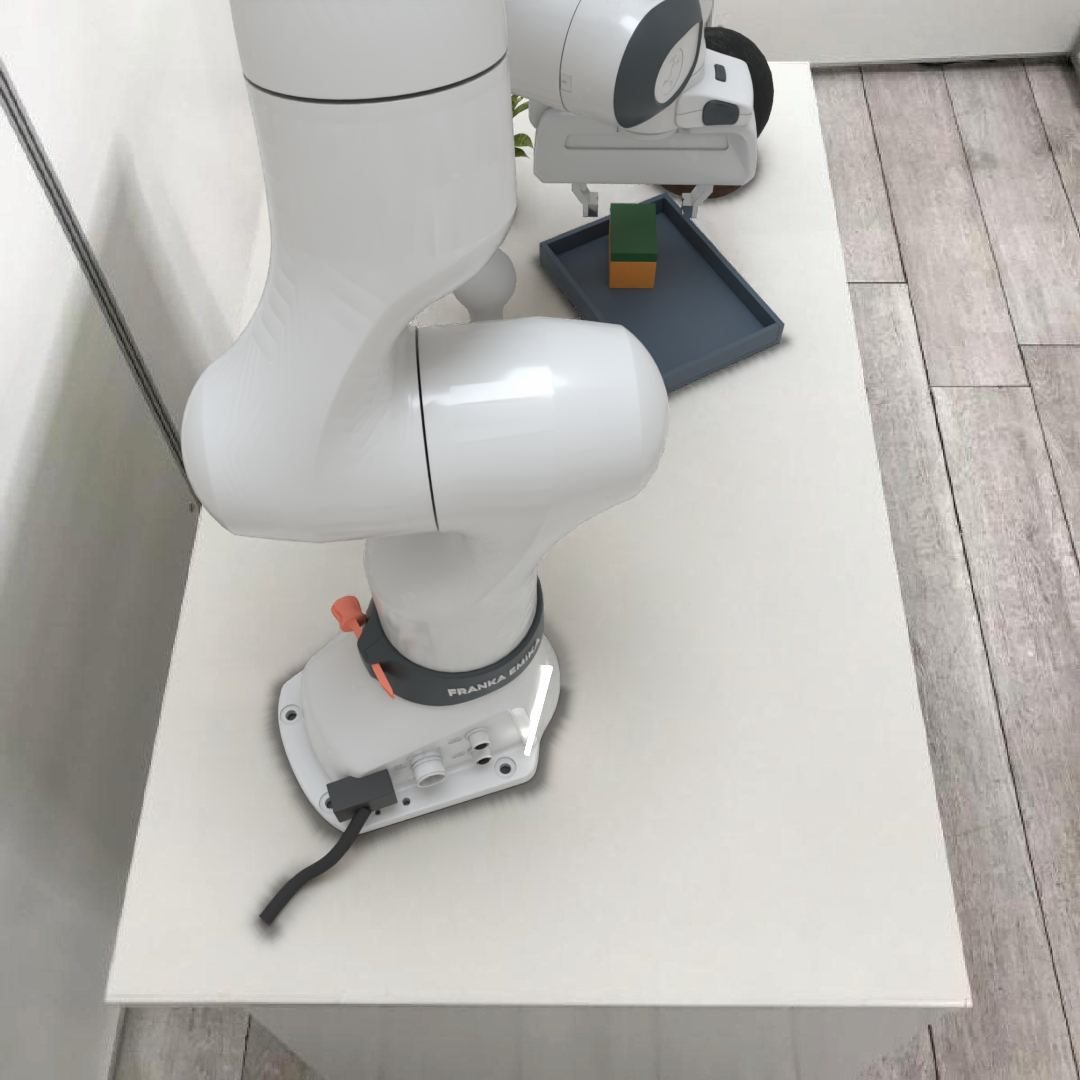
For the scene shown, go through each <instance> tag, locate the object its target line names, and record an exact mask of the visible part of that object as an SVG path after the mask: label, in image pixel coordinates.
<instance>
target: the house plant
mask: <svg viewBox="0 0 1080 1080" xmlns="http://www.w3.org/2000/svg"><path fill="white" fill-rule="evenodd" d="M511 99H512V114H513V119H514V118H515V117H516V116H517V115H519V114H520V113H522V112H524V111H525V110H526V111H527V110H528V103H529V100H527V101H525V102H523V103H521V104H519V103H520V102H521V101H523V99H524V98H523V97H520V96H517V95H514V94H511ZM518 104H519V105H518ZM517 105H518V106H517ZM533 144H534V143H533V141H532V138H531V137H530V136H529V135H528V134H527V133H524V132H523V133H521V132H519V133H517V134H514V146H515V158H520V157H522V158H528V159H529V160H531V158H530V157H529V156H528V155H527V153H526V152H525V150H524V149H522V148H521V147H529V148H531V149H532V150H533V151H534V145H533Z"/></svg>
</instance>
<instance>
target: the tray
mask: <svg viewBox="0 0 1080 1080" xmlns="http://www.w3.org/2000/svg"><path fill="white" fill-rule="evenodd" d="M639 203H655V206H656V229H657V251H658V254H657V263H656V272H655V281H654V288H609V240H608V239H609V221H610V214H608V215H605V216H603V217H600V218H598V219H594V220H593V221H590V222H587V223H585V224H582V225H580V226H578V227H575V228H573V229H570V230H568V231H565V232H563V233H560V234H558V235H555V236H552V237H550V238H547V239H545V240H543V241H540V242H539V243H538V245H539V248H538V249H539V252H538V253H539V263H540V265H542V267H543V268H544V269H545V271H546V272H547V273H548V274H549V277H551V278H552V280H553V281H554V282H555V284H556V285H557V287H558V288H559V289H560V290H561V291H562V293H563V294H564V295H565V297H566V298H567V299H568V300H569V302H570V303H571V304H572V306H573V307H574V308H575V310H576V311H577V312H578V314H579V315H580V316H581V317H582V320H586V321H594V322H602V323H610V324H618V325H622V326H624V327H625V328H626V329H627V330H629V331H630V332H631V333H632V334H633V335H634V336H635V337H636V338H637V339H638V340H639V341H640V342H641V343H642V344H643V345H644V347H645V348H646V349H647V350H648V352H649V353H650V355H651V356H652V358H653V360H654V361H655V363H656V365H657V367H658V369H659V371H660V373H661V376H662V378H663V381H664V385H665V388H666V392H667V394H669V393H671V392H673V391H675V390H677V389H680V388H682V387H684V386H686V385H689V384H691V383H693V382H696V381H697V380H700V379H702V378H704V377H706V376H708V375H711V374H713V373H715V372H718V371H719V370H722V369H723V368H726V367H728V366H730V365H733V364H735V363H737V362H739V361H741V360H744V359H746V358H749V357H751V356H752V355H755V354H758V353H759V352H761V351H764V350H765V349H768V348H770V347H772V346H775V345H778V344H779V343H780V342H781V339H782V336H783V332H784V328H785V322H783V320H781V318H780V317H779V316H778V315H777V314H776V313H775V312H774V310H773V309H772V308H771V306H769V305H768V303H766V301H765V300H764V299H763V298H762V297H761V296H760V294H759V293H757V291H756V290H755V289H754V288H753V287H752V286H751V284H749V283H748V281H747V280H746V279H745V278H744V277H743V276H742V275H741V273H740V272H739V271H738V270H737V269H736V268H735V266H734V265H733V264H731V262H730V261H729V260H728V259H727V258H726V256H725V255H723V253H722V252H721V251H720V250H719V249H718V248H717V246H716V245H714V244H713V242H712V241H711V240H710V239H709V238H708V237H707V235H705V234H704V232H703V231H702V230H701V228H700V227H698V226H697V225H696V223H695V222H694V221H693V220H692V218H681V206H679V204H677V202H676V201H675V200H674V199H673V197H672V196H671V195H669V193H668V192H667V191H665V192H662V193H660V194H657V195H654V196H653V197H650V198H647V199H645V200H642V201H640V202H639Z"/></svg>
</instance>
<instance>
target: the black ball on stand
mask: <svg viewBox="0 0 1080 1080" xmlns="http://www.w3.org/2000/svg"><path fill="white" fill-rule="evenodd" d="M704 38H705V44H706V48H707V49H710V50H712V51H715V52H718V53H721V54H724V55H728V56H731V57H734V58H737V59H740V60H742V61H744V62H745V63H746V64H747V66H748V69H749V72H750V76H751V80H752V85H753V108H754V115H755V121H756V131H757V139H759V138H760V136H761V135H762V133H763V131H764V129H765V128H766V125H767V124H768V122H769V120H770V116H771V114H772V111H773V110H772V109H773V105H774V99H775V98H774V97H775V87H774V86H775V85H774V80H773V72H772V70H771V68H770V65H769V62H768V61H767V58H766V56H765V55H764V53H763V52H762V51H761V49H760V48H759V47H758V45H757V44H756V43H755V42H754V41H753V40H751V39H750V38H748V37H747V36H746V35H744V34H742V33H741V32H739V31H736V30H735V29H732V28H727V27H722V26H705V28H704ZM659 185H660V186H661V187H663V188H664V189H666V190H667V191H669V192H671V193H673V194H676V195H679V196H682V193H691V192H692V190H693V189H694V188H695V187H696V185H667V184H659ZM742 186H743V185H714V186H713V192H712V193H711V194H710V195H709V196H708V197H707V198H706V199H705V200H708V199H716V198H720V197H723V196H727V195H729V194H731V193H733V192H735V191H736V190H738V189H740V188H741V187H742Z"/></svg>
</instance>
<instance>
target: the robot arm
mask: <svg viewBox="0 0 1080 1080" xmlns="http://www.w3.org/2000/svg"><path fill="white" fill-rule="evenodd" d="M228 2H229V9H230V15H231V21H232V27H233V32H234V37H235V43H236V46H237V53H238V56H239V62H240V67H241V71H242V76H243V81H244V85H245V89H246V94H247V98H248V104H249V107H250V108H249V109H250V112H251V117H252V122H253V127H254V131H255V137H256V142H257V147H258V153H259V158H260V165H261V170H262V171H261V172H262V177H263V183H264V190H265V197H266V205H267V206H266V207H267V214H268V221H269V232H270V233H269V234H270V249H269V262H268V269H267V274H266V279H265V283H264V287H263V290H262V293H261V296H260V299H259V301H258V304H257V306H256V308H255V311H254V313H253V315H252V316H251V318H250V320H249V321H248V323H247V325H246V326H245V327H244V329H243V330H242V332H240V334H239V335H238V336H237V338H236V339H235V340H234V341H233V342H232V343H231V345H230V346H229V347H228V348H227V349H225V350H224V351H223V352H222V353H221V354H220V355H219V356H217V358H215V359H214V360H212V362H210V363H209V364H208V365H207V366H206V368H205V369H204V370H203V372H202V373H201V374H200V375H199V377H198V379H197V381H196V382H195V383H194V385H193V388H192V390H191V392H190V393H189V396H188V398H187V401H186V404H185V408H184V410H183V415H182V420H181V426H180V451H181V457H182V462H183V467H184V471H185V474H186V477H187V480H188V483H189V484H190V486H191V488H192V491H193V493H194V494H195V496H196V498H197V500H198V501H199V502H200V504H201V505H202V507H203V508H204V509H205V510H206V512H207V513H208V514H209V515H210V516H211V518H212V519H213V520H214V521H216V522H217V523H218V524H219V526H221V527H222V528H223V529H225V530H226V531H228V532H229V533H230V534H231V535H233V536H237V537H243V538H254V539H255V538H256V539H262V540H270V541H271V540H272V541H282V542H296V543H308V544H319V545H320V544H328V543H329V544H330V543H337V542H346V541H347V542H348V541H349V542H350V541H358V540H364V546H363V557H362V558H363V559H362V560H363V567H364V573H365V577H366V581H367V584H368V587H369V590H370V593H371V597H370V601H369V603H368V606H367V608H365V610H364V611H363V610H362V608H361V604H360V602H359V599H358V598H357V596H356V595H345V596H342V597H340V598H338V599H337V600H335V601H334V602H333V604H332V605H331V606H330V612H331V614H332V615H333V617H334V618H335V620H336V621H337V622H338V625H339V629H340V632H338V634H337V635H335V636H334V637H333V638H332V639H330V641H328V642H327V643H326V644H325V645H324V646H323V647H321V649H319V650H318V651H317V652H316V653H315V654H313V656H311V658H309V660H307V662H306V664H305V665H304V666H303V669H302V670H300V671H299V672H298V673H296V674H295V675H294V676H292V677H291V678H290V679H288V680H287V681H285V682H284V684H283V685H282V686H281V690H280V694H279V698H278V707H277V718H278V725H279V726H278V727H279V733H280V737H281V741H282V744H283V748H284V752H285V754H286V757H287V759H288V762H289V765H290V767H291V770H292V772H293V774H294V776H295V778H296V780H297V782H298V785H299V786H300V788H301V790H302V791H303V793H304V795H305V797H306V798H307V799H308V801H309V803H310V804H311V805H312V807H313V808H314V809H315V810H316V812H317V813H318V814H319V815H320V816H321V817H322V818H323V820H325V821H326V822H327V823H329V824H330V825H331V826H332V827H334V828H336V829H337V830H339V831H340V832H342V835H341V836H340V838H338V840H337V842H336V843H335V845H333V846H332V848H331V849H330V850H329V851H328V852H327V853H326V854H325V855H324V856H323V857H321V858H319V859H318V860H316V861H315V862H314V863H311V864H310V865H308V866H306V867H305V868H302V869H301V870H300V871H298V872H297V873H296V874H294V875H293V876H292V877H291V878H290V879H289V880H288V881H287V882H286V883H285V884H284V885H283V886H282V887H281V888H280V890H278V891H277V892H276V894H275V895H274V897H273V898H272V899H271V900H270V901H269V903H268V904H267V905H266V906H265V907H264V909H263V910H262V911H261V912H260V913H259V915H258V917H259V918H260V919H261V920H262V921H263V922H265V923H266V924H267V925H270V924H271V923H272V922H273V920H275V919H276V917H277V915H278V914H279V913H280V912H281V910H282V909H283V908H284V906H286V905H287V903H288V902H289V901H290V899H291V898H292V897H293V896H294V895H295V894H297V892H298V891H299V890H300V889H302V887H304V886H305V885H306V884H307V883H308V882H310V881H312V880H314V879H315V878H317V877H319V876H321V875H323V874H324V873H326V872H327V871H329V870H330V869H332V868H333V867H334V866H335V865H336V864H337V863H339V862H340V860H342V859H343V857H344V856H345V855H346V854H347V853H348V851H349V850H350V848H351V847H352V846H353V844H354V842H355V841H356V840H357V837H358V836H359V835H361V834H365V833H368V832H371V831H374V830H378V829H381V828H384V827H388V826H390V825H394V824H398V823H401V822H403V821H406V820H410V819H413V818H416V817H419V816H422V815H426V814H429V813H432V812H435V811H439V810H443V809H445V808H448V807H452V806H454V805H458V804H461V803H464V802H466V801H471V800H474V799H477V798H480V797H483V796H486V795H489V794H493V793H496V792H499V791H502V790H505V789H509V788H512V787H515V786H518V785H521V784H524V783H525V784H526V783H527V782H528V781H530V780H531V779H532V778H533V777H534V776H535V774H536V772H537V769H538V763H539V756H540V742H541V740H542V737H543V735H544V733H545V731H546V729H547V727H548V725H549V724H550V722H551V720H552V718H553V716H554V714H555V711H556V709H557V705H558V703H559V698H560V694H561V693H560V692H561V669H560V665H559V659H558V657H557V654H556V653H555V650H554V648H553V645H552V644H551V642H550V640H549V639H548V638H547V636H546V635H545V633H544V630H545V597H544V592H543V587H542V583H541V580H540V577H539V574H538V571H539V564H540V562H541V561H542V559H544V557H545V556H546V555H547V554H548V553H549V552H550V551H551V550H552V549H553V548H554V547H555V546H556V545H558V543H559V542H561V541H562V540H563V539H564V538H565V537H566V536H568V535H569V534H571V532H573V531H574V530H575V529H576V528H578V527H580V526H581V525H583V524H584V523H586V522H587V521H589V520H590V519H592V518H594V517H596V516H598V515H599V514H602V513H603V512H606V511H608V510H610V509H612V508H614V507H616V506H618V505H620V504H623V503H625V502H628V501H630V500H632V499H634V498H637V497H638V496H639V495H640V494H641V493H642V491H643V490H644V489H645V488H646V486H647V485H648V484H649V482H650V481H651V480H652V478H653V477H654V475H655V473H656V471H657V469H658V467H659V465H660V463H661V461H662V458H663V455H664V453H665V449H666V445H667V442H668V437H669V431H670V430H669V429H670V405H669V403H670V402H669V398H668V393H667V392H666V388H665V385H664V381H663V378H662V376H661V373H660V371H659V369H658V367H657V365H656V363H655V361H654V360H653V358H652V356H651V355H650V353H649V352H648V350H647V349H646V348H645V347H644V345H643V344H642V343H641V342H640V341H639V340H638V339H637V338H636V337H635V336H634V335H633V334H632V333H631V332H630V331H629V330H627V329H626V328H625V327H624V326H622V325H618V324H610V323H602V322H594V321H586V320H584V319H576V318H565V317H564V318H563V317H555V316H554V317H552V316H543V315H542V316H541V315H534V316H533V315H532V316H524V317H513V318H511V317H510V318H502V319H500V320H489V321H479V322H471V321H469V322H460V323H459V322H457V323H447V324H437V325H435V324H434V325H425V326H417V325H409V324H410V323H411V322H412V321H413V320H414V319H415V318H416V317H417V316H418V315H420V314H421V313H423V311H425V310H426V309H427V308H429V307H431V306H432V305H433V304H435V303H436V302H438V301H439V300H441V299H443V298H445V297H446V296H448V295H449V294H451V293H453V291H454V290H456V289H458V288H459V287H461V286H462V285H464V284H465V283H467V282H468V281H469V280H471V279H472V278H473V277H474V276H476V275H477V274H478V273H479V272H480V271H481V270H482V269H483V268H484V267H485V265H486V264H487V263H488V262H489V261H490V260H491V258H492V257H493V256H494V254H495V253H496V252H497V250H498V249H500V248H501V246H502V245H503V243H504V242H505V240H506V238H507V236H508V235H509V232H510V230H511V228H512V226H513V223H514V219H515V216H516V213H517V208H518V201H519V199H518V198H519V197H518V182H517V181H518V180H517V165H516V164H517V163H516V157H515V146H514V135H515V132H514V118H513V114H512V99H511V96H512V94H514V95H517V96H519V98H520V97H523V99H526V100H528V101H529V103H528V109H527V110H528V120H529V122H530V124H531V125H532V127H533V128H534V129H535V134H534V143H533V144H534V145H533V148H534V150H533V161H532V163H533V164H532V166H533V167H532V170H533V171H532V173H533V175H534V176H535V177H536V178H537V179H538V180H539V181H540V182H541V184H569V185H570V184H571V192H572V194H573V195H574V196H575V197H576V199H577V200H578V201H579V203H580V204H581V205H582V218H598V217H599V191H590V189H589V188H588V186H587V185H660V184H667V185H696V187H695V188H694V189H693V190H692V192H691V193H682V195H681V202H680V208H681V218H690V219H697V218H698V212H699V206H702V204H703V203H704V202H705V201H706V200H707V199H706V198H707V197H708V196H709V195H710V194H711V193H712V192H713V186H714V185H742V186H744V185H747V184H748V183H749V182H750V181H751V180H752V179H754V177H755V175H756V170H757V165H758V138H757V131H756V121H755V115H754V108H753V85H752V80H751V76H750V72H749V69H748V66H747V64H746V63H745V62H744V61H742V60H740V59H737V58H734V57H731V56H728V55H724V54H721V53H718V52H715V51H712V50H710V49H707V48H706V44H705V38H704V28H705V27H706V24H707V22H708V19H709V17H710V15H711V12H712V8H713V2H714V1H713V0H228ZM292 714H295V715H296V716H295V718H294V719H291V720H290V719H288V718H289V716H290V715H292ZM504 767H508V768H510V771H509V772H508V773H503V772H501V769H502V768H504ZM406 802H409V804H406ZM329 803H330V805H331V807H330V808H329V807H328V804H329Z"/></svg>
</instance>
